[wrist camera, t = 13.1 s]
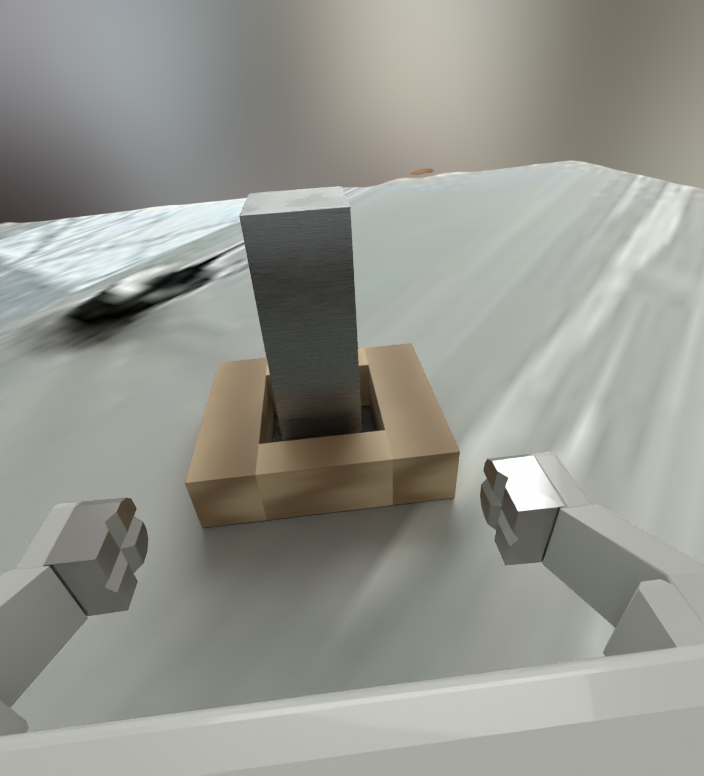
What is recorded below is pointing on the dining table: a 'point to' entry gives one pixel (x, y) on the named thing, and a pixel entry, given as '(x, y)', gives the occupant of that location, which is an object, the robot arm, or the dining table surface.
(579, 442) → the dining table surface
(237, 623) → the dining table surface
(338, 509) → the well block
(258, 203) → the post
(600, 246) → the dining table surface
